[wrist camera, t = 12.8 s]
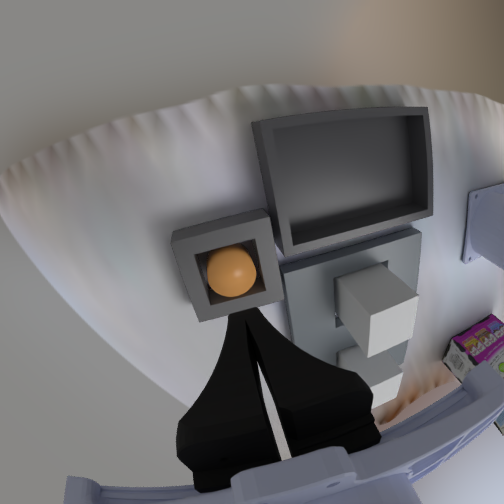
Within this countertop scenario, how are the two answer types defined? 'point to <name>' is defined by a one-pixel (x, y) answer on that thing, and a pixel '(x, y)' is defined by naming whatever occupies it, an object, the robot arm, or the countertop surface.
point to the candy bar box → (478, 352)
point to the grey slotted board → (322, 290)
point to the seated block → (373, 372)
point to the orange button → (230, 270)
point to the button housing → (220, 235)
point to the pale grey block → (375, 307)
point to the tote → (344, 173)
